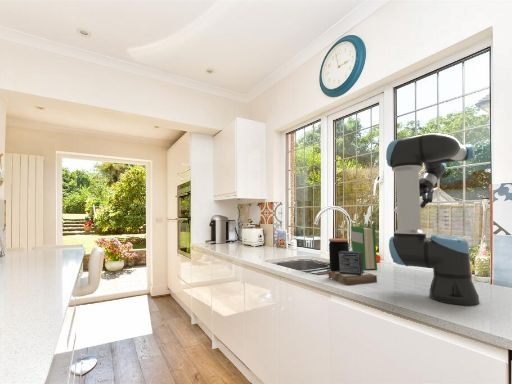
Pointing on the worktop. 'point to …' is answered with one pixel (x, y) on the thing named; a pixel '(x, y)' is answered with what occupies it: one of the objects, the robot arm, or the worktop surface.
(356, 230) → the hardback book
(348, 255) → the small box
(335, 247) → the coffee jar
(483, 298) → the worktop surface
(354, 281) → the walnut stand
